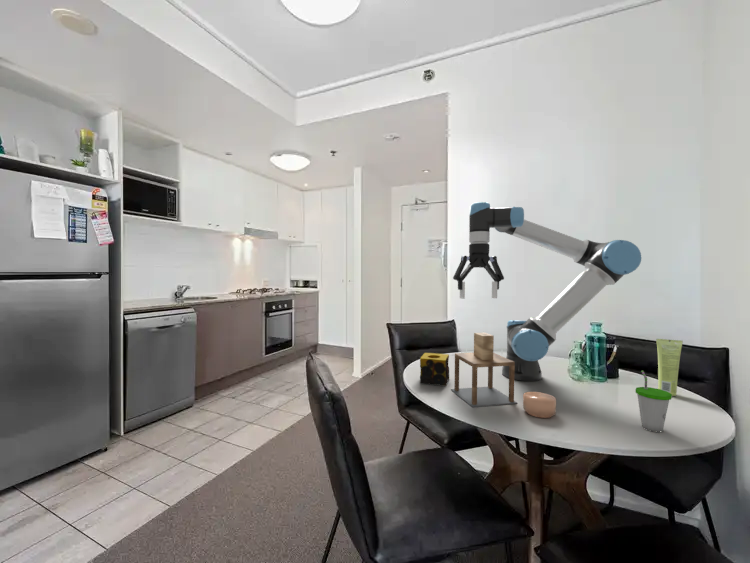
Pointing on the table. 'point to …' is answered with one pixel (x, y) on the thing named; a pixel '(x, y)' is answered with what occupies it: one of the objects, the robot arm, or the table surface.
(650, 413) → the cup
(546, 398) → the peach rounded disc
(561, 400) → the table surface
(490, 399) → the mat
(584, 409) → the table surface
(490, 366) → the wooden side table
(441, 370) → the candle
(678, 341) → the tube
